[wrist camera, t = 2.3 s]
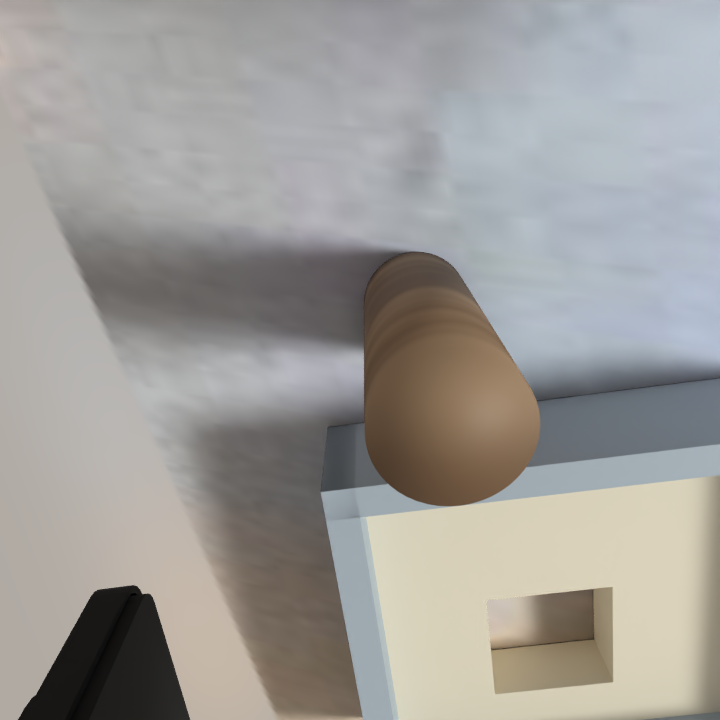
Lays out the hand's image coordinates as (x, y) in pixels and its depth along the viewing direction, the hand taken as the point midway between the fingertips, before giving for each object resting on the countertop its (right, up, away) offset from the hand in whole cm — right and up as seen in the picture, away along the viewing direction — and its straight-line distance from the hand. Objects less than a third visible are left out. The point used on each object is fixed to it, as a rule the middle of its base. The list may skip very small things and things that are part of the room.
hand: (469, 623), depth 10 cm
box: (+7, -5, +20) cm, 22 cm away
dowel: (+1, +6, +15) cm, 17 cm away
